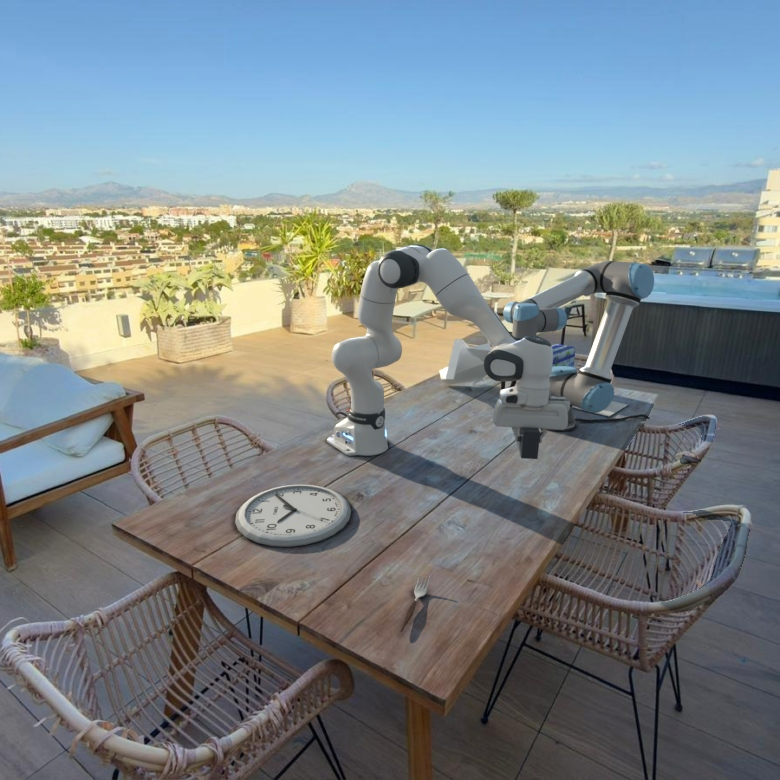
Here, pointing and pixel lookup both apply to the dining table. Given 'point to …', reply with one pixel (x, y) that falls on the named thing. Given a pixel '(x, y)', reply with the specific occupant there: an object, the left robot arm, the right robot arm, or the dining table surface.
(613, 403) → the invitation card
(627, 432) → the dining table surface
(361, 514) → the dining table surface
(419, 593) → the fork
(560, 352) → the lunch box
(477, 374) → the white plastic object
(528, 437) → the beam
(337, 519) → the wall clock
